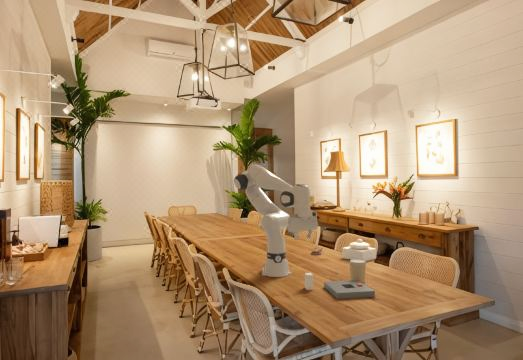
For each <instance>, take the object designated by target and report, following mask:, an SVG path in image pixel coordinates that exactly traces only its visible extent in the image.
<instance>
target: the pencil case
mask: <svg viewBox="0 0 523 360" xmlns="http://www.w3.org/2000/svg"><path fill="white" fill-rule="evenodd" d="M322 252H323V248H322V247H319V246H318V247H317V246H316V247H315V248H314V249H313V250H312V251H311V255H313V256H321V255H322Z"/></svg>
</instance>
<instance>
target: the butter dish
mask: <svg viewBox="0 0 523 360" xmlns="http://www.w3.org/2000/svg"><path fill="white" fill-rule="evenodd" d="M341 250H342V259H345V260H349V259H350V260H355V259H357V260H364V261H365V262H369V261H372V260H376V259H377V249H376V248H375V247H371V245H370V244H369V243H368V242H364V240H363V239H361V238H358V239H357V240H356V241H353V242H351V243H349V246H345V247H342V248H341ZM350 260H349V261H350Z"/></svg>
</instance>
